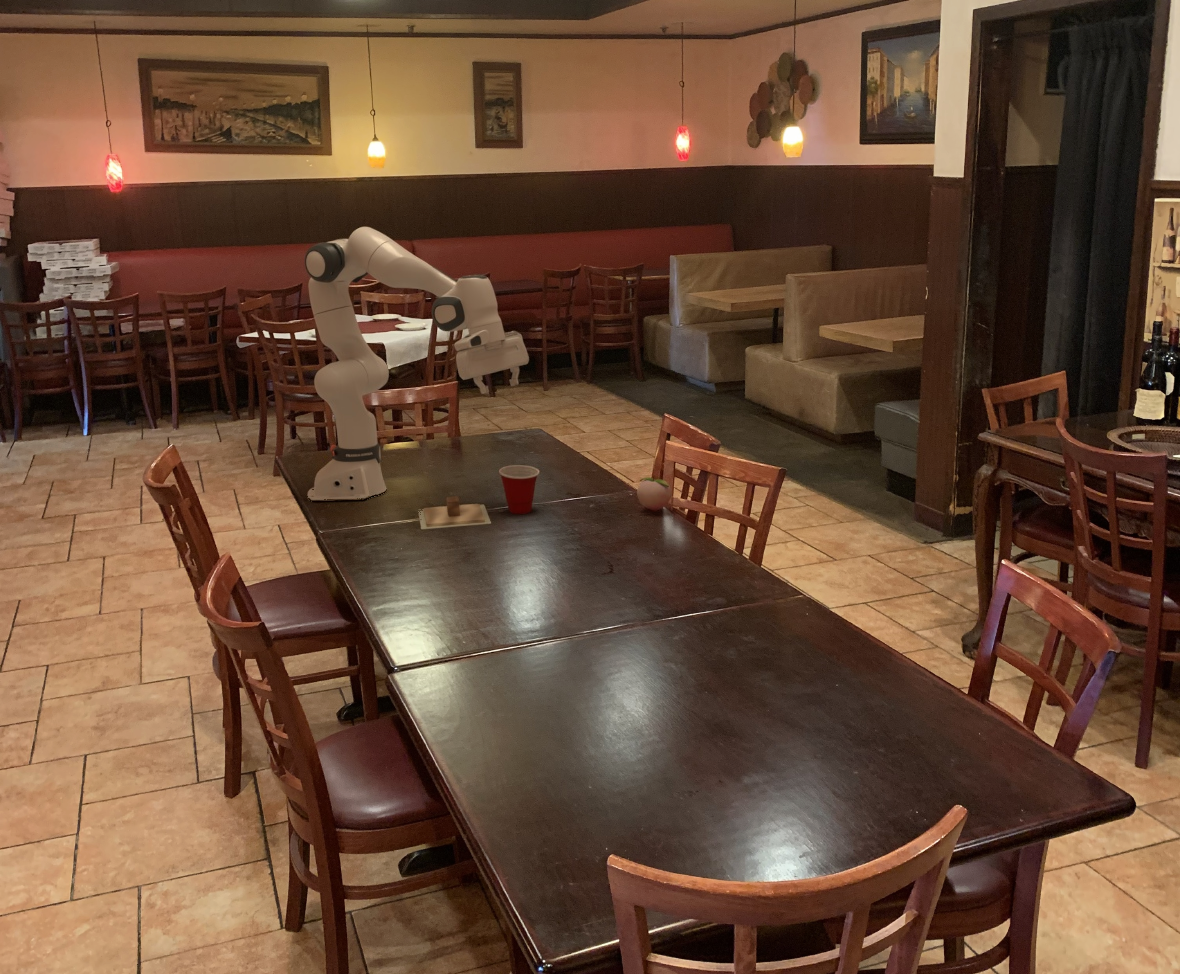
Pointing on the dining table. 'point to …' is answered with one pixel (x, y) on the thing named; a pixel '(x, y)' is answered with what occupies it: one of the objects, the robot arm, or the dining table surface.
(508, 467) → the plastic cup
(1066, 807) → the dining table surface
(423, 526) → the mat
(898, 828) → the dining table surface
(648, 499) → the decorative fruit
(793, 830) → the dining table surface
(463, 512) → the lid
